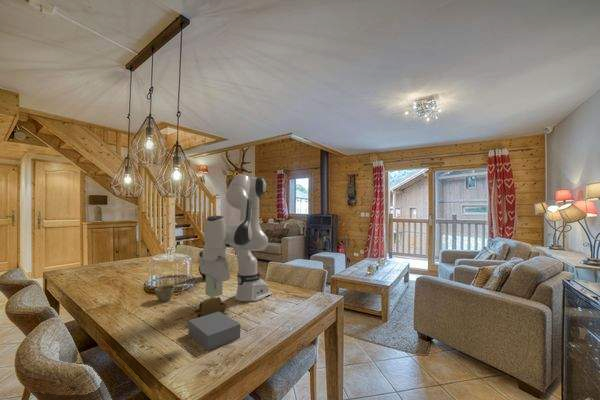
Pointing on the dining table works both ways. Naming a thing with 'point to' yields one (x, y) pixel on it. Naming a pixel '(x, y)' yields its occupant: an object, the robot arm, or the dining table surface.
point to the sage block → (212, 287)
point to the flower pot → (164, 293)
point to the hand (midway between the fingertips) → (214, 287)
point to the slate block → (214, 330)
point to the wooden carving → (210, 307)
